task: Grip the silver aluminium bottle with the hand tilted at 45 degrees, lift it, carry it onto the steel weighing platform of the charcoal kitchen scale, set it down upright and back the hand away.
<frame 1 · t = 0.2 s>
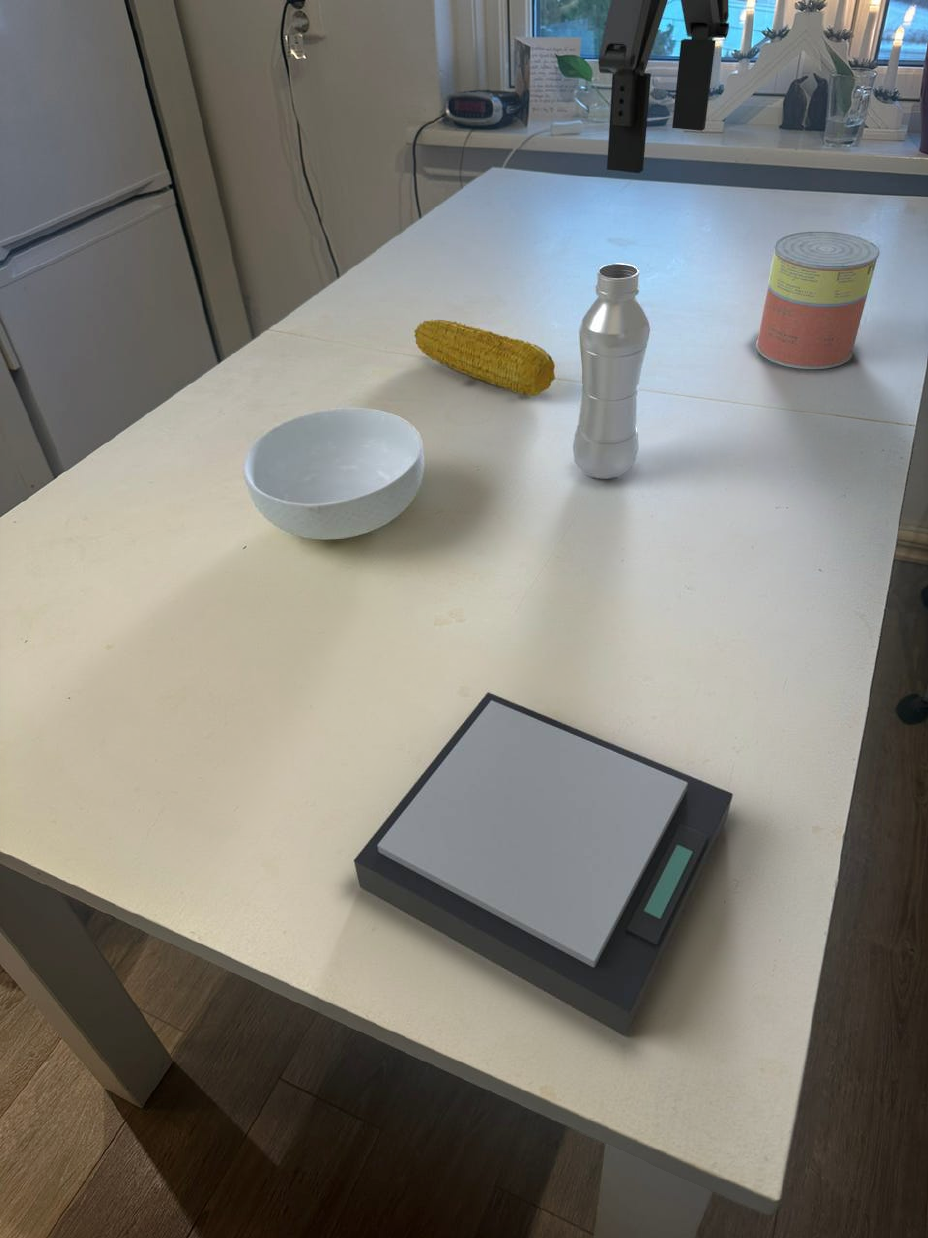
hand: (658, 148, 72), 29 cm above the table, tool pointing down, fingers open, 13 cm apart
cereal bowl: (343, 515, 85), on the table
food: (479, 377, 106), on the table
silver aluminium bottle: (603, 470, 89), on the table
canned food: (803, 350, 107), on the table
scale: (546, 853, 56), on the table
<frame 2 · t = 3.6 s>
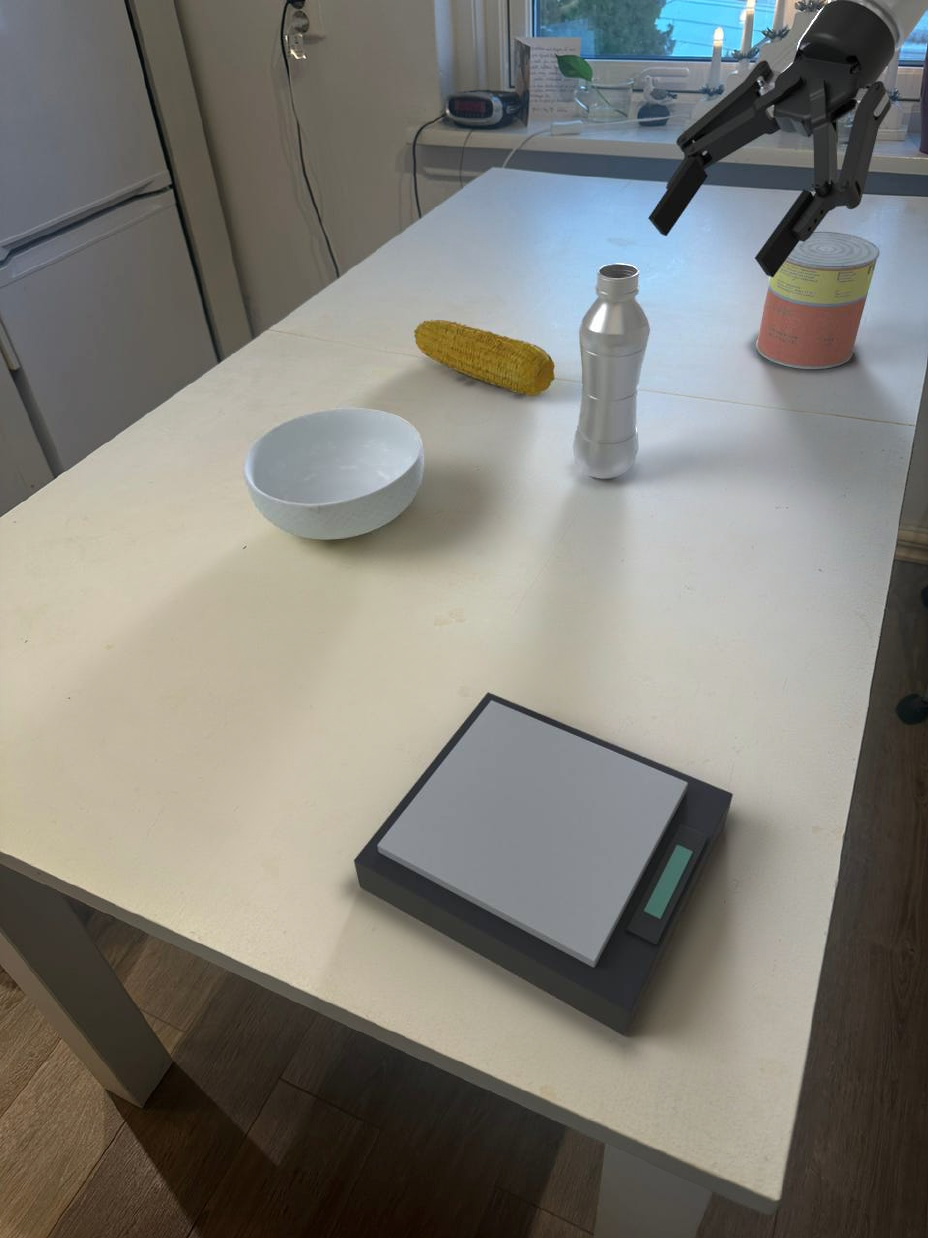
hand: (707, 246, 80), 20 cm above the table, tool tilted 45°, fingers open, 13 cm apart
nothing on the table moved.
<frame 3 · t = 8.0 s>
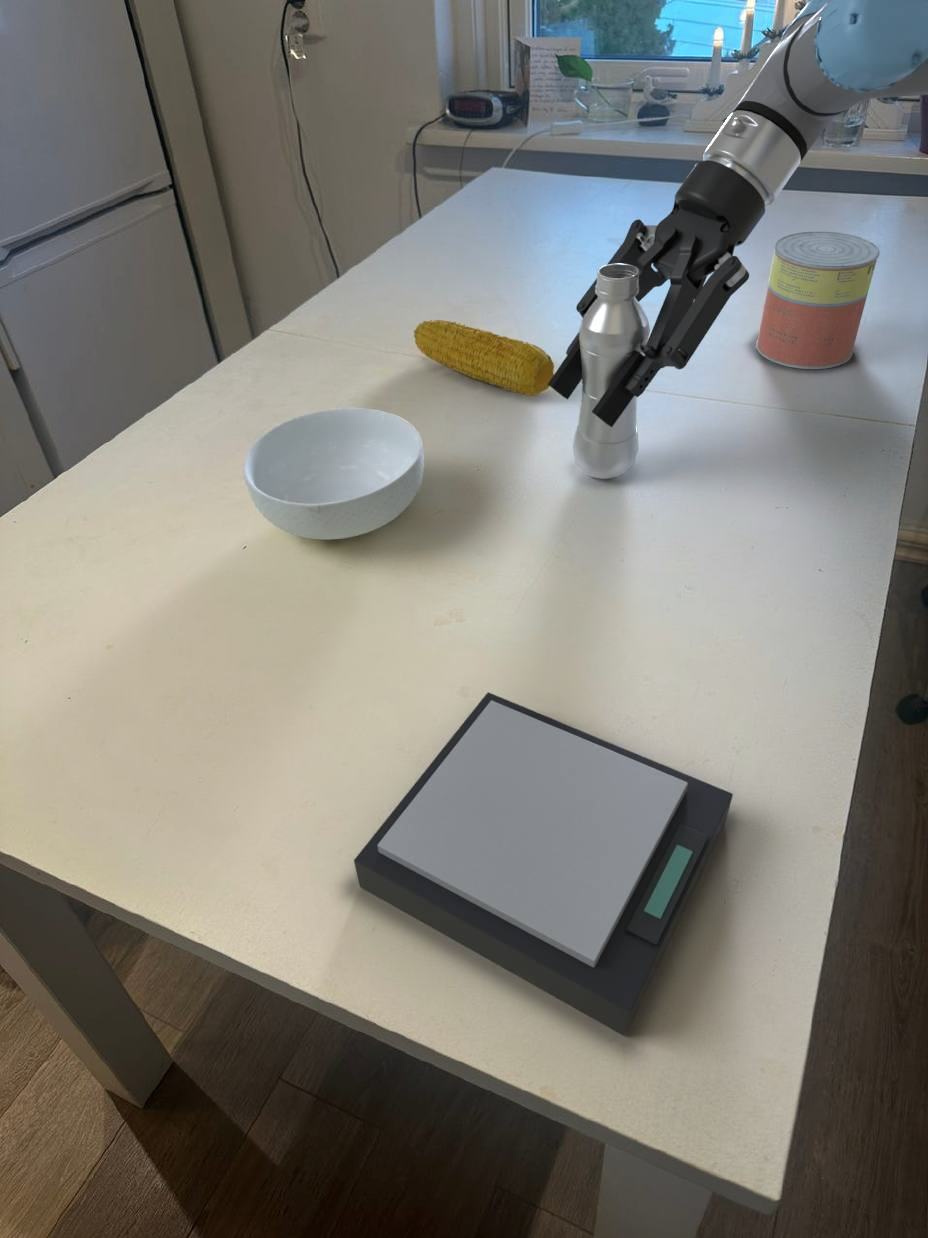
hand: (579, 404, 82), 8 cm above the table, tool tilted 45°, fingers closed on silver aluminium bottle, 6 cm apart
silver aluminium bottle: (603, 470, 89), on the table, touching gripper
everything else where it was.
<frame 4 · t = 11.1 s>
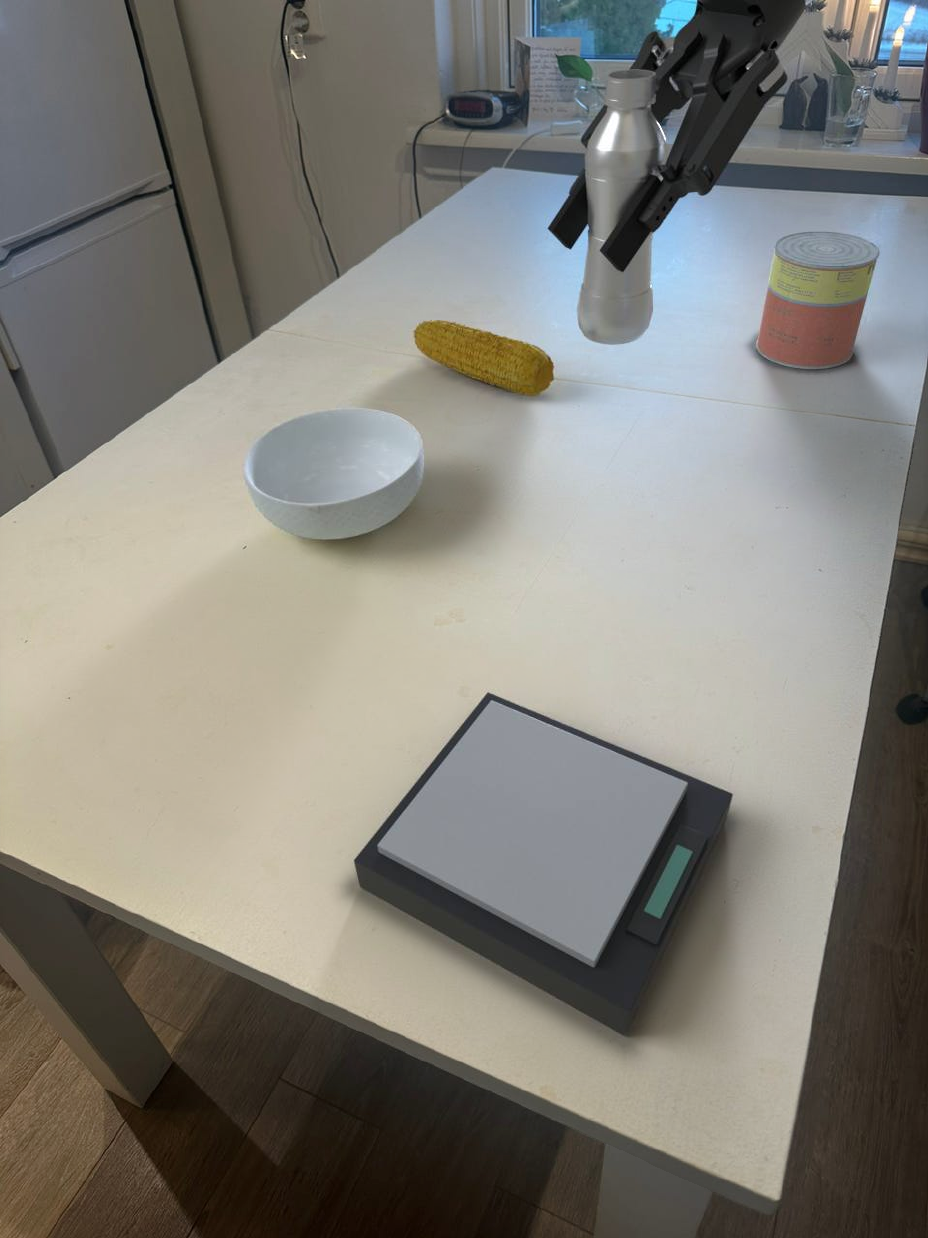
hand: (584, 249, 70), 24 cm above the table, tool tilted 45°, fingers closed on silver aluminium bottle, 6 cm apart
silver aluminium bottle: (612, 339, 77), point 15 cm above the table, touching gripper
everything else where it was.
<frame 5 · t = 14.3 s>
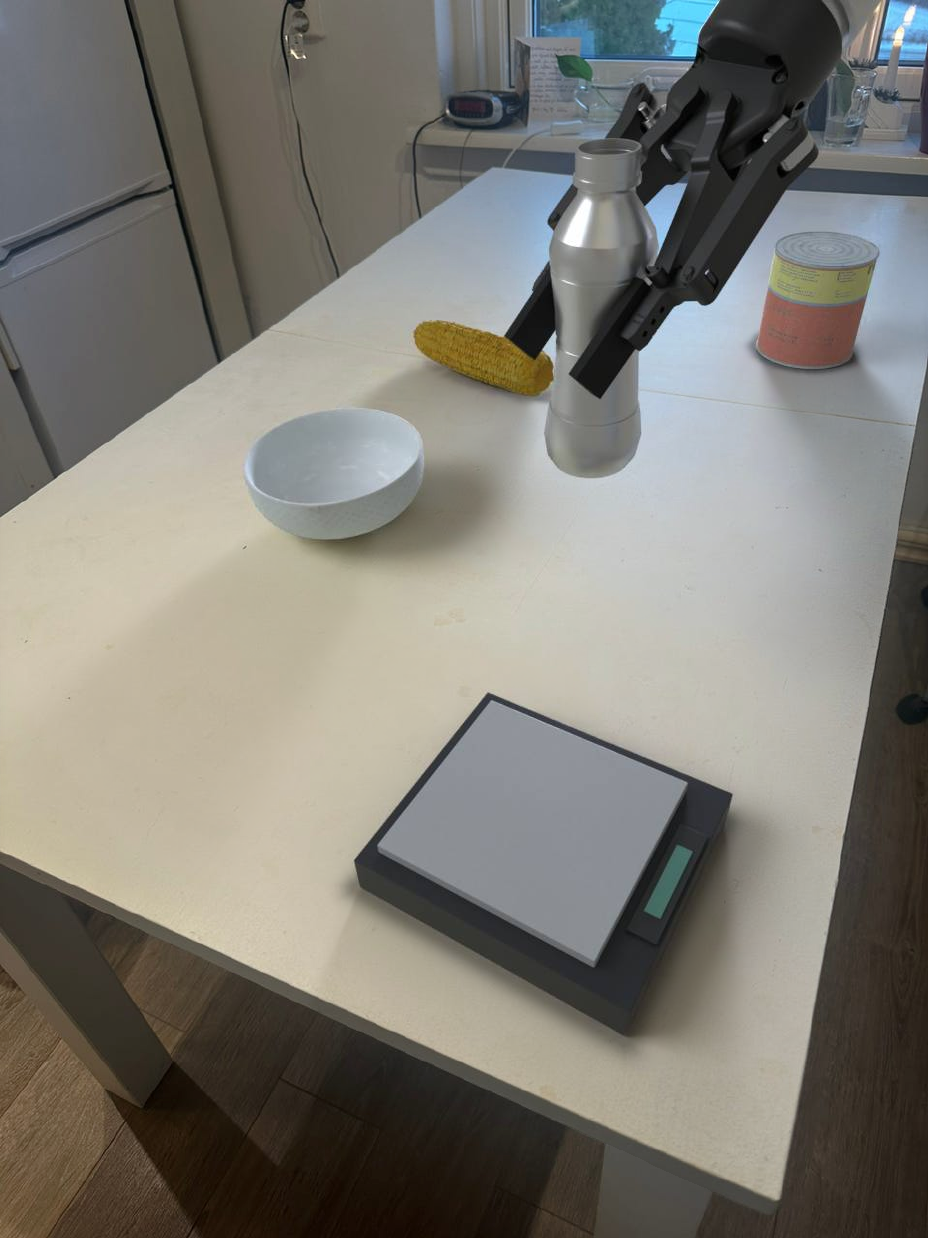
hand: (551, 366, 54), 24 cm above the table, tool tilted 45°, fingers closed on silver aluminium bottle, 6 cm apart
silver aluminium bottle: (590, 466, 61), point 16 cm above the table, touching gripper
everything else where it was.
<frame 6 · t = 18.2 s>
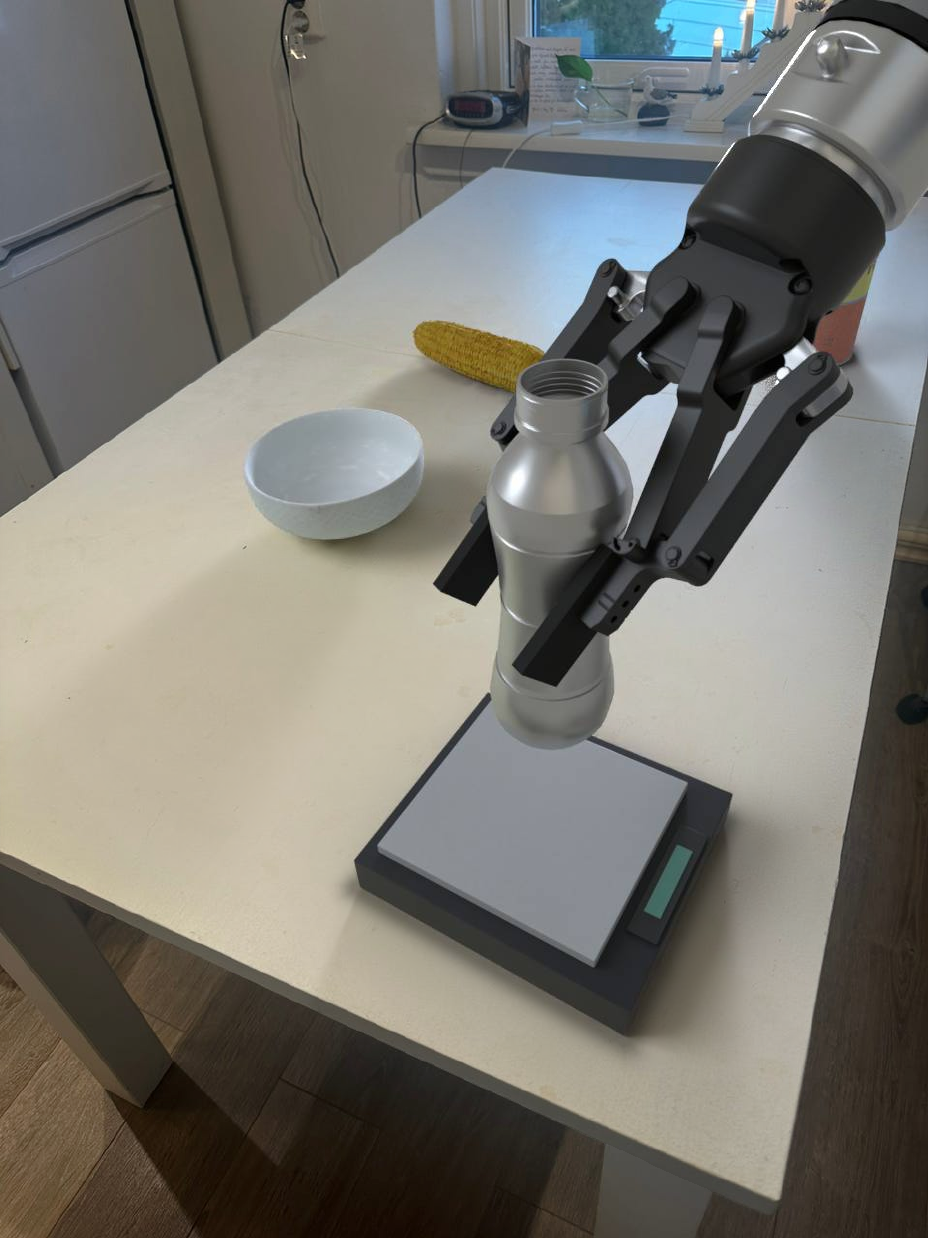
hand: (492, 633, 41), 21 cm above the table, tool tilted 45°, fingers closed on silver aluminium bottle, 6 cm apart
silver aluminium bottle: (551, 720, 48), point 12 cm above the table, touching gripper
everything else where it was.
when the fingers open (12 cm above the table, at t = 21.0 s): silver aluminium bottle stays where it is, resting on scale.
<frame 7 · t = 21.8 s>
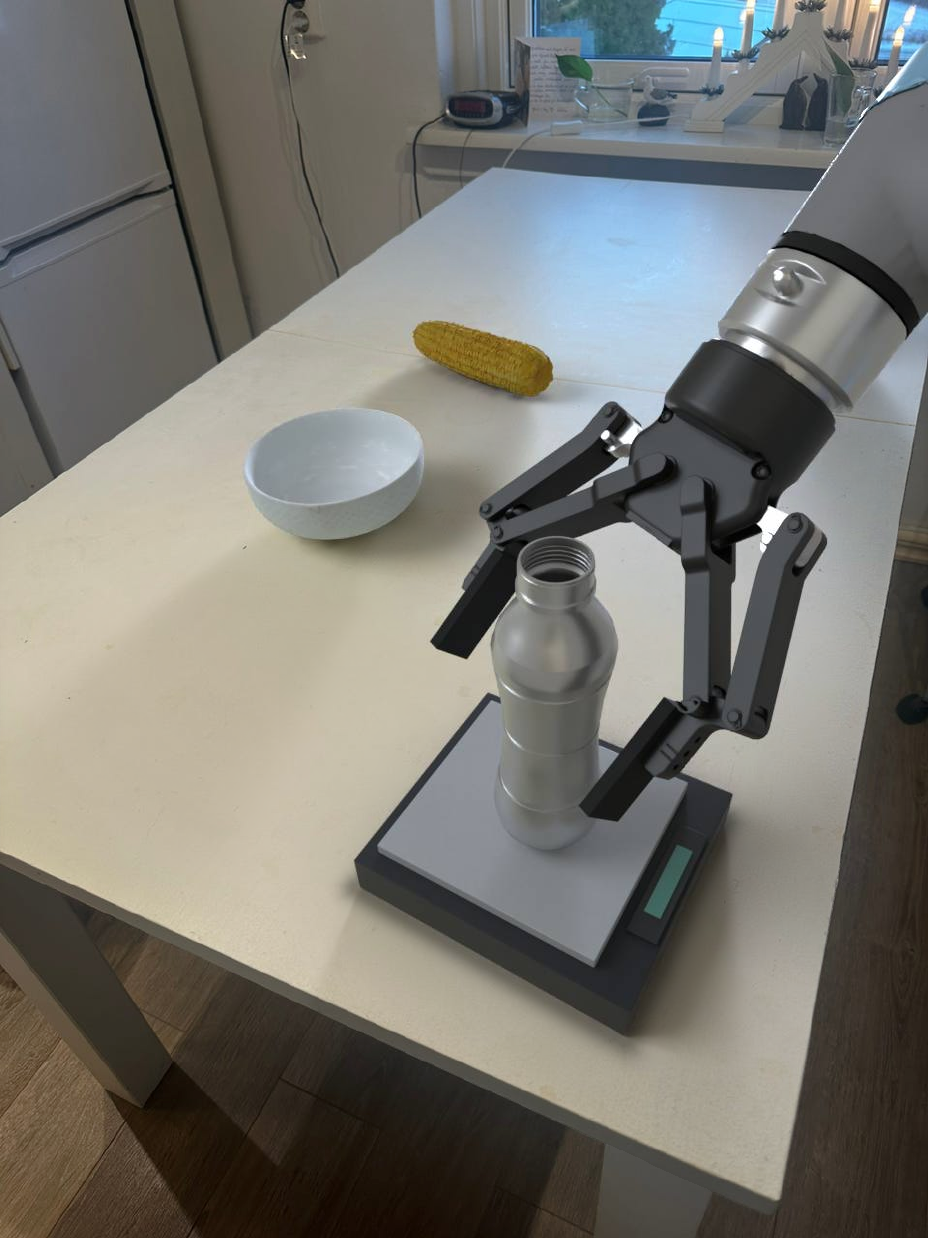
hand: (515, 725, 46), 14 cm above the table, tool tilted 45°, fingers open, 13 cm apart
silver aluminium bottle: (547, 819, 54), point 4 cm above the table, touching scale
everything else where it was.
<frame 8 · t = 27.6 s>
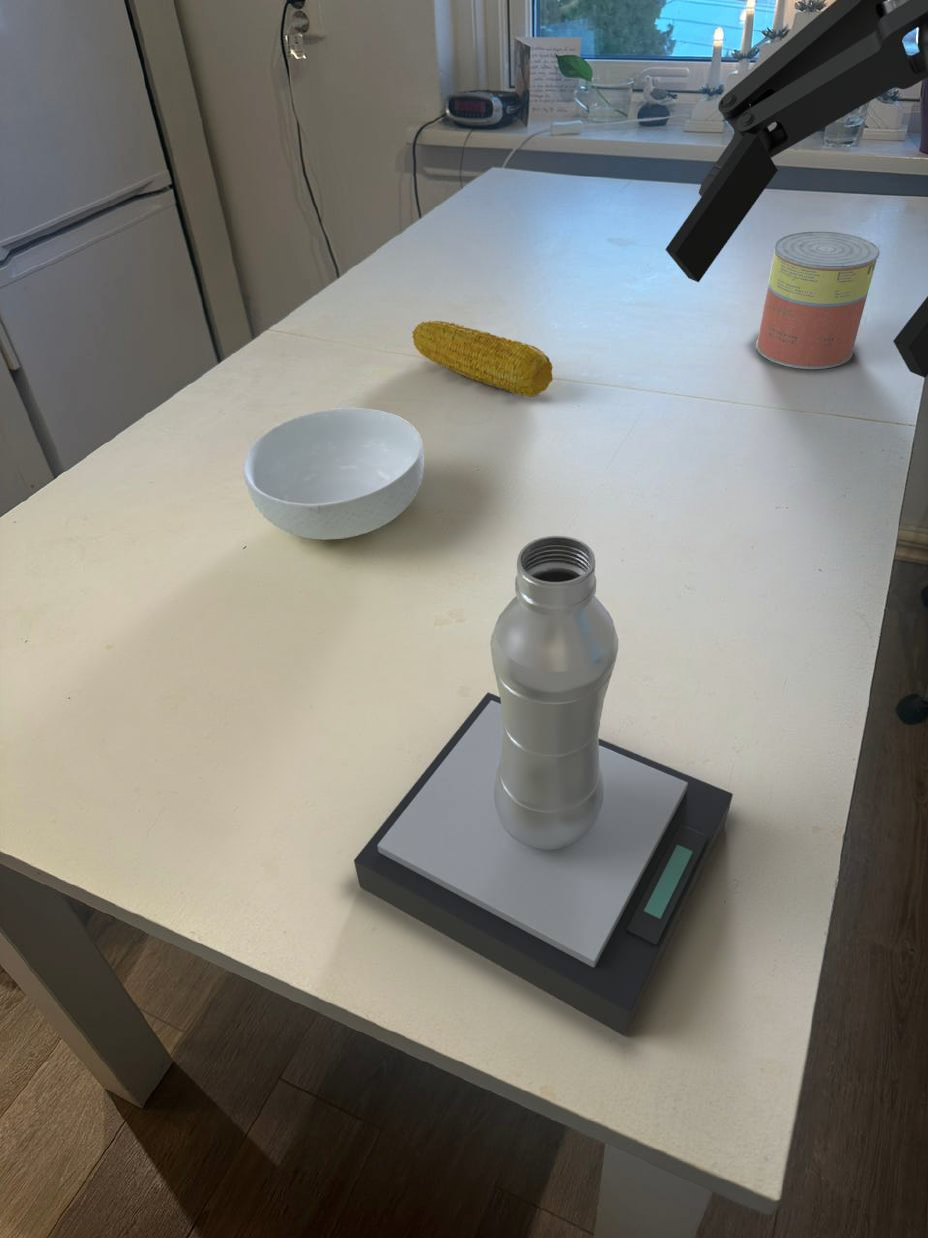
hand: (782, 308, 41), 32 cm above the table, tool tilted 45°, fingers open, 13 cm apart
nothing on the table moved.
at the end: silver aluminium bottle inside the target area on the scale (0.8 cm from its centre), point 3.6 cm above the scale's base; silver aluminium bottle tilted 0°; the gripper is holding nothing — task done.
